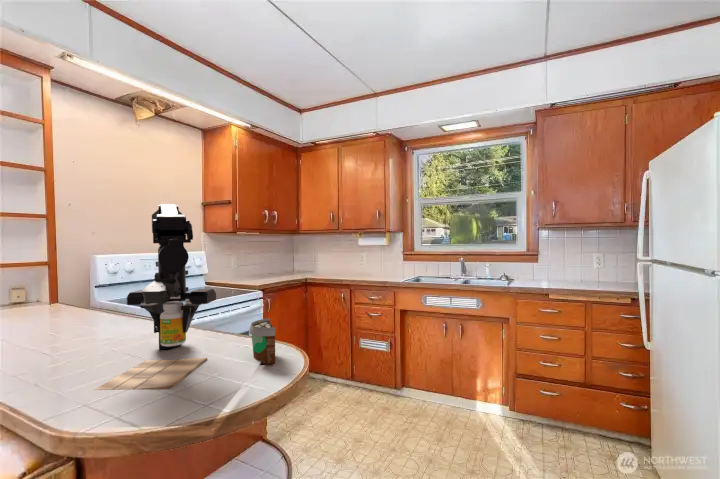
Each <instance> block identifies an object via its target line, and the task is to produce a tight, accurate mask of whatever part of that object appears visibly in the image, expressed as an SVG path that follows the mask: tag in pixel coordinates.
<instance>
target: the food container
mask: <svg viewBox="0 0 720 479" xmlns="http://www.w3.org/2000/svg"><path fill="white" fill-rule="evenodd" d="M248 334H250V335H251V343H252V344H251V345H252V354H253V359H255V360H257V361H261V362H260V363H259V364H258V365H259V366H275V365H276V326H275V327H274V326H273V324H272V323H271V318H262V319H261V318H260V319H258V320H255V321H252V322H251V323H250V326H249V330H248ZM274 364H275V365H274Z"/></svg>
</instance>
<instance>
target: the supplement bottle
mask: <svg viewBox="0 0 720 479" xmlns="http://www.w3.org/2000/svg"><path fill="white" fill-rule="evenodd" d="M182 303H183V302H180V301H173V302H166V303H164V304H163V310H164V312H163V313H161V315H160V343H161V345H162V346H176V345H180V344H181V345H182V344H185V342H186V340H187V332H186V333H183V310H181V306H182Z"/></svg>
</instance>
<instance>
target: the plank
mask: <svg viewBox="0 0 720 479" xmlns="http://www.w3.org/2000/svg"><path fill="white" fill-rule="evenodd" d="M207 360H208V357H197V358H196V357H195V358H184V359H183V358H182V359H175V361H174V362H172V363H171V364H169V365H168V366H166V367H165V368H163V369H162V370H160V371H159V372H157V373H156V374H154V375H153V376H151V377H149V378H148V379H146V380H145V381H143V382H142V383H140V384H139V385H137V386H136V387H134V388H133V389H132V390H171V389H172V388H173V387H174V386H176V385H177V384H178V383H180V382H181V381H183V379H186V377H187V376H188V375H190V374H191V373H192V372H194V371H195V370H196V369H198V368H199V367H200V366H201V365H202V364H204V363H205V362H207Z"/></svg>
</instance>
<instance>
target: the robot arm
mask: <svg viewBox="0 0 720 479" xmlns="http://www.w3.org/2000/svg"><path fill="white" fill-rule="evenodd" d="M179 209H180V208H179V205H177V204H172V203H171V204H170V203H166V204H165V203H160V204H158V209H157V210H156V211H155V212H154V213H152V214H151V233H152V243H153V244H158V248H157V259H158V260H157V267H158V268H157V269H158V272H155V273H154V279H153V281H152V282H150V283H148V284H147V285H146V286H145V287H144V288H143V289H139V290H135V291H130V292H129V293H128V294H127V295H126V305H127V306H139V305H140V306H139V307H140V309H144V310H145V311H146V312H148V313H149V314H150V317H151V318H152V320H153V333H154V334H156V333H158V351H170V350H173V349H177V348H180V347H181V346H182V344H180V345H176V346H162V345H161V343H160V315H161V313H163V312H164V310H163V304H164V303H166V302H173V301H180V302H182V301H185V304H184V303H183V302H182V306H181V310H183V333H186V334H187V332H188V331H189V328H190V326H191V323H192V321H193V319H194V316H195V314H196V312H197V311H198V308H199V307H200V306H201V305H207V304H210V303H211V302H214V301H216V300H217V292H216V291H215V289H214V288H198V289H195V290H192V291H190V292H189V286H186V285H187V284H186V283H187V282H186V281H187V280H186V278H187V277H186V276H187V275H189V270H187V269H186V265H188V262H189V258H190V257H189V253H188V251H187V249H186V248H185V245H184V244H190V243H192V241H193V239H194V232H193V225H192V223H191V221H190V219H187V217H186V215H185V214H183V213H182V212H181V211H180V210H179Z"/></svg>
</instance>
